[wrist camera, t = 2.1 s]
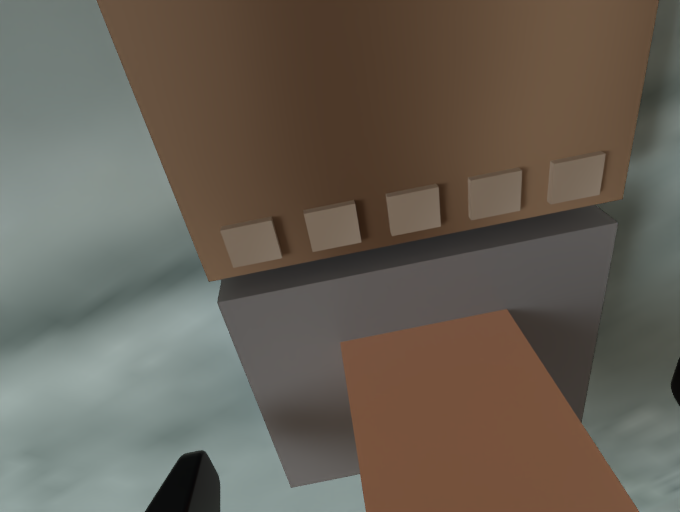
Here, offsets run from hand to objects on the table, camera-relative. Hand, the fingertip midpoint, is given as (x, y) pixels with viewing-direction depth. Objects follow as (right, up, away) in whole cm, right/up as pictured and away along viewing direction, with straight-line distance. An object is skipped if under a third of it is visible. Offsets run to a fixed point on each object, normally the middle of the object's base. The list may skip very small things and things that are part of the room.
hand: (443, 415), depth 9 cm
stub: (0, +1, +2) cm, 2 cm away
